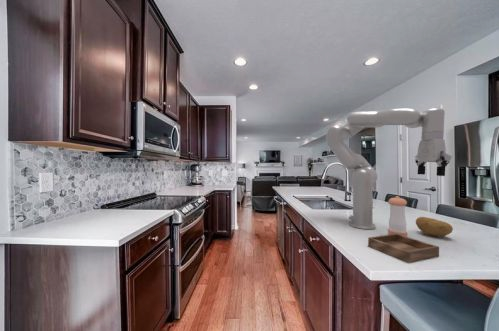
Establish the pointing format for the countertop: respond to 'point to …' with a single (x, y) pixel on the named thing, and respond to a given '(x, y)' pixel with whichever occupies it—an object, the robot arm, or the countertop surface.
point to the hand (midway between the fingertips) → (430, 175)
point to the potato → (433, 226)
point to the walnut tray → (403, 247)
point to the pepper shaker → (397, 216)
